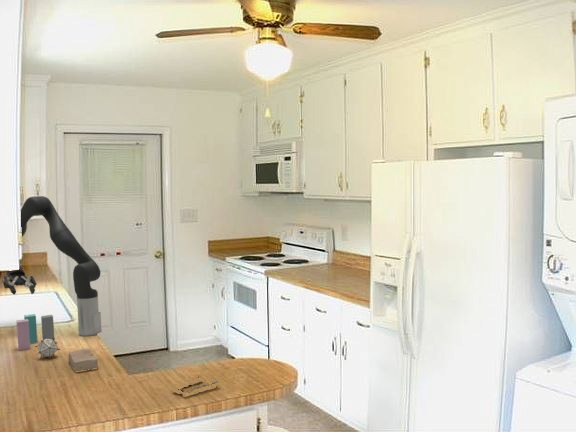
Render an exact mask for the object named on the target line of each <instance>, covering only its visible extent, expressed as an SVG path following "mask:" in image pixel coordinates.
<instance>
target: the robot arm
mask: <svg viewBox="0 0 576 432" xmlns="http://www.w3.org/2000/svg"><path fill="white" fill-rule="evenodd" d="M20 211H21V227H22V238H23V236H24V235H25V234H26V232H27V228H28V227H27V226H28V222H29V220H30V219H31V218H33V217H35V216H36V217H37V216H42V217H43V218H44V219H45V220H46V222H47V224H48V225H49V226H48V227H49V228H48V229H49V238H50V239H51V242H52V243H53V244H54V246H55V247H56V248H57V249H58V251H60V252H61V253H62V254H64V255H66V256H68V257H69V258H71V259H73V260H74V261H75V262H76V263H77V264H76V265H75V266H74V268H73V272H72V275H73V276H72V277H73V278H72V279H73V287H74V293H75V295H76V302H77V303H76V305H77V320H78V321H77V322H78V326H77V327H78V335H79V336H83V337H87V336H88V337H89V336H96V335H98V334H100V333H103V332H102V330H103V329H102V315H101V314H102V313H101V311H100V310H99V296H98V295H99V292H98V290H97V289H96V288H95V289H94V288H92V286H91V282H95V281H97V280H99V278H100V277H101V270H100V266H99V264H98V263H97V262H96V261H95V260H94V259H93V258H92V257H91V256H90V255H89V254H88V253H87V252H86V250H85V249H84V248H83V246H82V245H81V244H80V243H79V241H78V240H77V238H76V237H75V236H74V234H73V233H72V231H71V230H70V228H69V227H68V226H67V225H66V224H65V223H64V221H63V219H62V218H61V216H60V215H59V213H58V212H57V210H56V208H55V206H54V205H53V203H52V201H51V200H50V198H49V197H48V196H47V197H46V196H43V195H42V196H41V195H40V196H39V195H37V196H30V197H28V198H26V199H25V201H24V203H23V204H22V207H21V208H20ZM4 272H5V274H6V276H5V275H4V276H3V278H2V284H3V287H4V289H8V290H10V293H11V294H12V295H16V293H17V290H16V287H15V286H23V287H25V288H28V290H29V292H30V294H31V295H34V294H35V292H36V289H35V288H36V286H37V282H36V280H35V278H34V276H33V275H30V276H29V277H28V276H26V273H25V271H24V267H22V264H21V263H20V269H19V270H15V271H5V270H4Z"/></svg>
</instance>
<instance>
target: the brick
mask: <svg viewBox="0 0 576 432" xmlns="http://www.w3.org/2000/svg"><path fill="white" fill-rule="evenodd" d="M69 362H70V363H69ZM68 363H69V365H70V364H71V365H70V367H71V368H72V367H73V368H74V369H73V368H72V369H73V371H74V370H75V371H81V370H88V369H93V368H98V367H99V366H98V365H99V364H98V363H99V362H98V358H97V356H96V355H94V353H93V351H92V349H91V348H82V349H77V350H73V351H68ZM75 371H74V372H75Z"/></svg>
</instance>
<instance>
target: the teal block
mask: <svg viewBox="0 0 576 432" xmlns="http://www.w3.org/2000/svg"><path fill="white" fill-rule="evenodd" d="M25 319H28V321H29V335H30V345H31V344H36V343H38V331H37V330H38V329H37V315H36V313H34V314H26V315H24V317H23V320H25Z"/></svg>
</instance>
